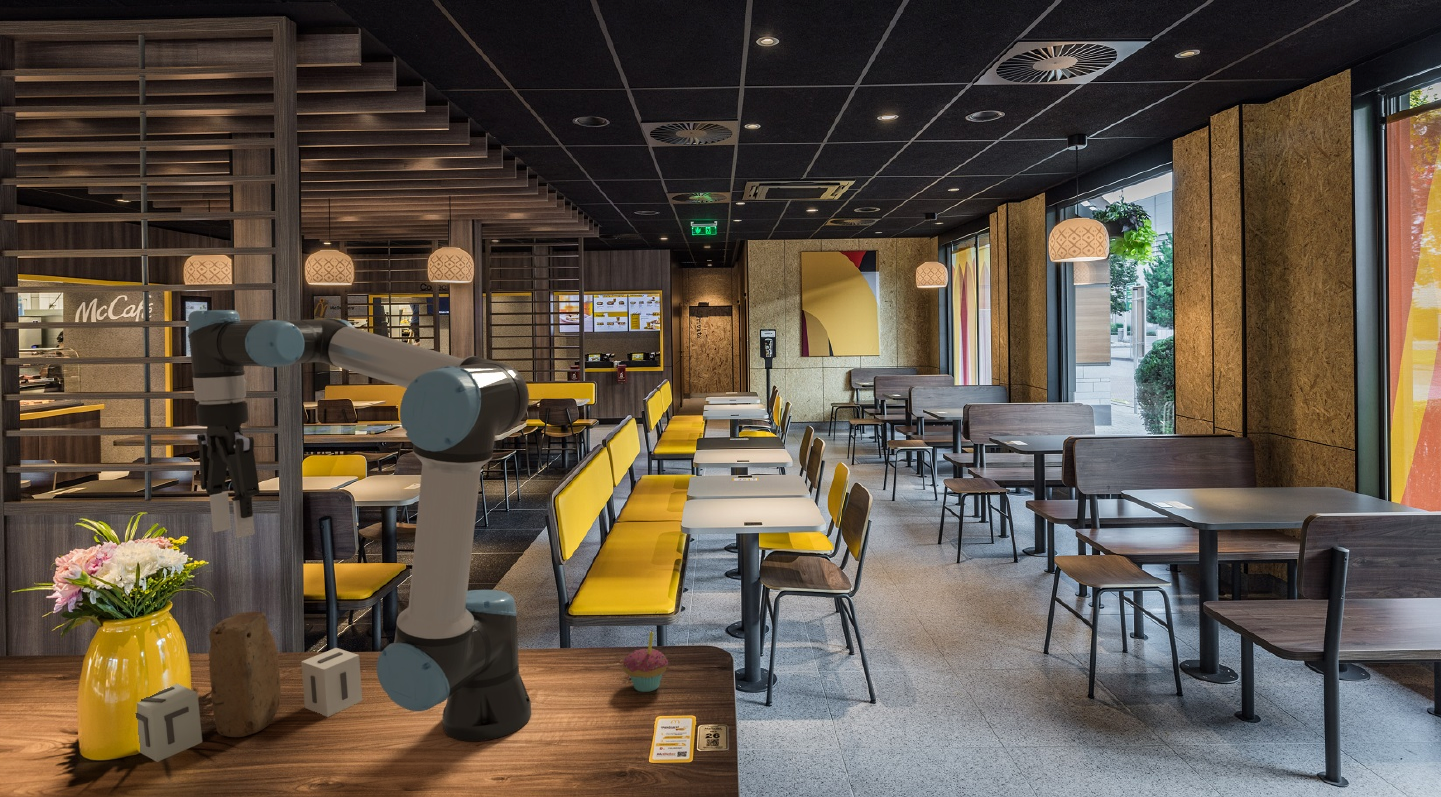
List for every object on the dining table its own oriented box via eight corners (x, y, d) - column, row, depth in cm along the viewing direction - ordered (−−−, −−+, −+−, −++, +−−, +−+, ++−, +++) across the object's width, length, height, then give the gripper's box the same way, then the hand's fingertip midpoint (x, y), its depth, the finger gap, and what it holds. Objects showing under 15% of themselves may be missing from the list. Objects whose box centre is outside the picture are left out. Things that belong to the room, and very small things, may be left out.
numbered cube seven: (203, 742, 140) (198, 691, 139) (156, 763, 134) (150, 709, 133) (181, 732, 144) (176, 681, 143) (135, 751, 138) (129, 699, 137)
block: (251, 741, 140) (241, 628, 138) (210, 740, 141) (199, 628, 138) (289, 710, 151) (280, 605, 149) (251, 709, 151) (241, 605, 149)
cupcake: (677, 682, 158) (675, 622, 157) (650, 701, 151) (648, 638, 150) (641, 672, 163) (639, 614, 161) (614, 690, 156) (611, 629, 154)
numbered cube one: (363, 701, 154) (359, 654, 153) (327, 718, 148) (323, 668, 147) (339, 692, 158) (336, 646, 156) (303, 708, 151) (299, 660, 150)
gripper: (276, 401, 137) (287, 534, 140) (214, 396, 148) (225, 521, 150) (229, 406, 131) (242, 546, 134) (168, 401, 141) (181, 531, 144)
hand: (233, 532), depth 142 cm, fingers open, 7 cm apart
